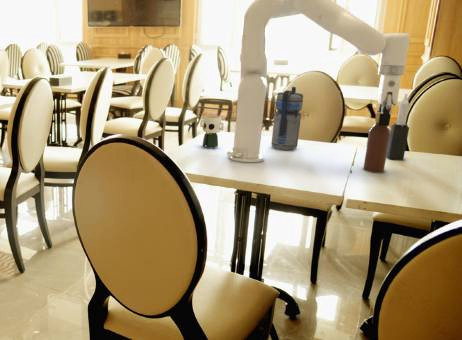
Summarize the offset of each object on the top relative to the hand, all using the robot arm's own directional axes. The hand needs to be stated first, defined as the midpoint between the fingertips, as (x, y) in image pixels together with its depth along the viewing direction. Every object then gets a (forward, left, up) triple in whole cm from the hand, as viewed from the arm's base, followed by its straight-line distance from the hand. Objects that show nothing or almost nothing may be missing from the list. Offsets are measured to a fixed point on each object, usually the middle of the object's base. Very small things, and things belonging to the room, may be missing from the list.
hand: (382, 123), depth 178 cm
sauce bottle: (0, 0, -17) cm, 17 cm away
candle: (+25, +2, -17) cm, 30 cm away
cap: (0, 0, +1) cm, 1 cm away
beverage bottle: (+6, +38, -17) cm, 42 cm away
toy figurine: (-17, +58, -17) cm, 63 cm away
